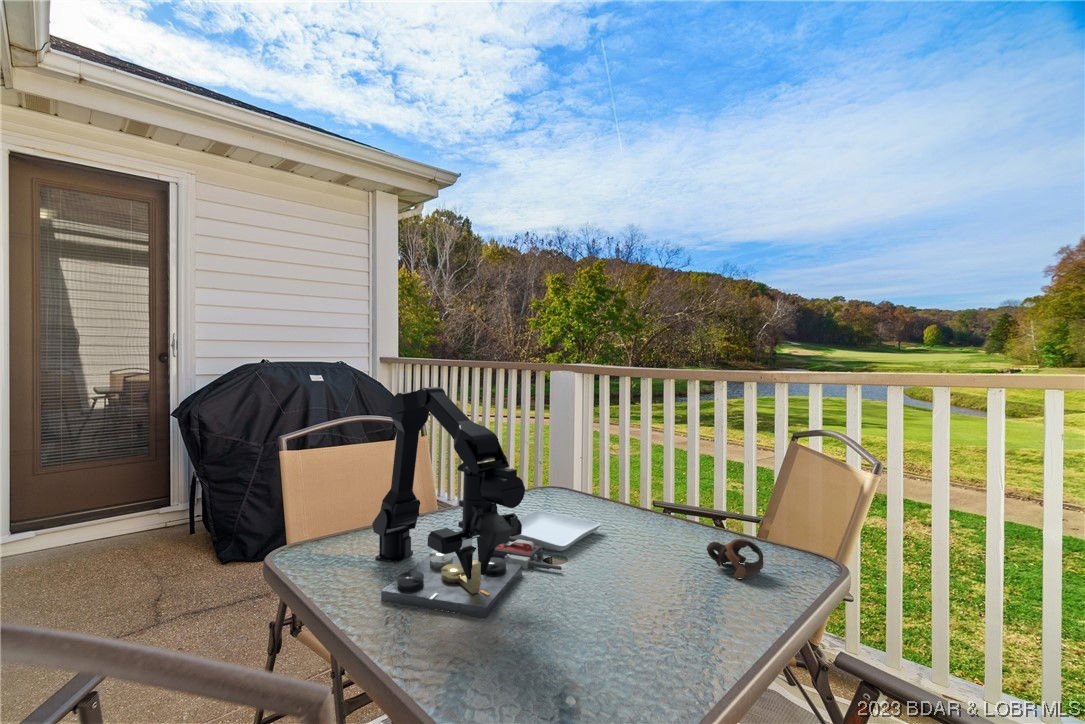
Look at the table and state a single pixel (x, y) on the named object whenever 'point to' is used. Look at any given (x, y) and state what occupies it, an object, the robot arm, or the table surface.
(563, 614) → the table surface
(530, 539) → the salad plate
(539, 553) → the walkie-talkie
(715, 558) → the pottery mug
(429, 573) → the instrument base
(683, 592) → the table surface
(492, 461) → the robot arm
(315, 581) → the table surface
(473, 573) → the brass knob
